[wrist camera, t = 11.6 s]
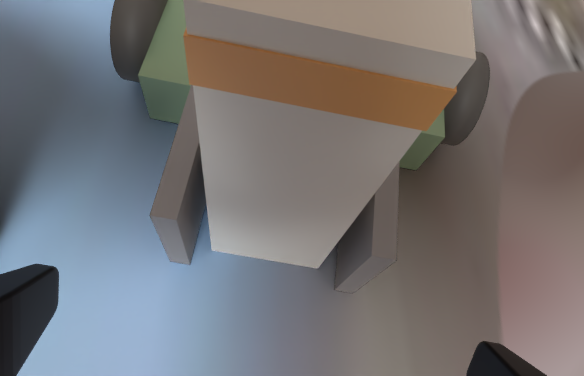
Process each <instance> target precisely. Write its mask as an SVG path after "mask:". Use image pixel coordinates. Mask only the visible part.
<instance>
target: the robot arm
mask: <svg viewBox="0 0 584 376" xmlns="http://www.w3.org/2000/svg"><path fill="white" fill-rule="evenodd" d="M58 291H59V272H58V269H57V268H56V267H54V266H48V265H42V264H33V265H30V266H26V267H23V268H20V269H16V270H13V271H10V272H7V273H3V274H0V376H16V375H17V374H18V372H19V371H20V369H21V367H22V366H23V364H24V363H25V361H26V359H27V358H28V356H29V354H30V353H31V351H32V350H33V348H34V346H35V345H36V343H37V341H38V340H39V338H40V336H41V335H42V333H43V332H44V330H45V328H46V327H47V325H48V323H49V322H50V320H51V318H52V317H53V315H54V313H55V311H56V309H57V305H58ZM466 376H547V375H545V374H544V373H542V372H541V371H539V370H538V369H536V368H535V367H534V366H532V365H531V364H529V363H528V362H526V361H525V360H523V359H522V358H521V357H519V356H518V355H516V354H515V353H513V352H512V351H510V350H509V349H507V348H506V347H505V346H503V345H501V344H499V343H493V342H487V341H482V342H480V343H479V344H478V346H477V348H476V350H475V353H474V355H473V358H472V360H471V362H470V365H469V367H468V370H467V375H466Z"/></svg>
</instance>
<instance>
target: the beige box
mask: <svg viewBox="0 0 584 376" xmlns="http://www.w3.org/2000/svg"><path fill="white" fill-rule="evenodd" d="M183 2H184V11H185V20H186V29H185V32H184V35H183V38H184V46H185V54H186V62H187V70H188V78H189V84H190V85H193V90H194V99H195V108H196V117H197V125H198V134H199V143H200V152H201V161H202V169H203V178H204V187H205V196H206V204H207V213H208V222H209V231H210V240H211V248H212V251H217V252H223V253H229V254H235V255H241V256H246V257H252V258H258V259H264V260H270V261H275V262H281V263H287V264H293V265H299V266H304V267H310V268H316V269H318V268H319V266H320V265H321V264H322V263H323V261H324V260H325V259H326V257H327V256H328V255H329V253H330V252H331V251H332V249H333V248H334V247H335V245H336V244H337V243H338V241H339V240H340V239H341V237H342V236H343V235H344V233H345V232H346V231H347V229H348V228H349V227H350V226H351V224H352V223H353V222H354V220H355V219H356V218H357V216H358V215H359V214H360V212H361V211H362V210H363V208H364V207H365V206H366V204H367V203H368V202H369V200H370V199H371V198H372V196H373V195H374V194H375V193H376V191H377V190H378V189H379V187H380V186H381V185H382V183H383V182H384V181H385V179H386V178H387V177H388V175H389V174H390V173H391V171H392V170H393V169H394V167H395V166H396V165H397V163H398V162H399V161H400V160H401V158H402V157H403V156H404V154H405V153H406V152H407V150H408V149H409V148H410V146H411V145H412V144H413V142H414V141H415V140H416V138H417V137H418V136H419V134H420V133H421V132H422V131H427V130H428V129H429V127H430V126H431V125H432V123H433V122H434V121H435V119H436V118H437V117H438V116H439V114H440V113H441V112H442V110H443V109H444V108H445V107H446V105H447V104H448V103H449V101H450V100H451V99H452V98H453V96H454V95H455V94H456V92H457V84H458V83H459V82H460V80H461V79H462V78H463V76H464V75H465V74H466V72H467V71H468V70H469V68H470V67H471V66H472V64H473V63H474V62H475V60H476V52H475V41H474V29H473V18H472V6H471V0H183Z"/></svg>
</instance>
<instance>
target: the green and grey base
mask: <svg viewBox="0 0 584 376" xmlns="http://www.w3.org/2000/svg"><path fill="white" fill-rule="evenodd" d="M185 29H186V20H185V11H184V2H183V0H115V2H114V6H113V11H112V17H111V26H110V46H111V55H112V60H113V64H114V67H115V69H116V72H117V73H118V75H119V76H120V77H121V78H122V79H125V80H130V81H135V82H140V84H141V88H142V91H143V95H144V98H145V102H146V105H147V109H148V112H149V116H150V118H152V119H157V120H162V121H167V122H172V123H177V124H179V125H178V128H177V131H176V134H175V137H174V141H173V144H172V147H171V150H170V153H169V156H168V159H167V162H166V166H165V169H164V172H163V175H162V178H161V181H160V184H159V187H158V191H157V194H156V197H155V200H154V203H153V206H152V209H151V212H150V218H151V220H152V222H153V224H154V226H155V229H156V231H157V233H158V235H159V238H160V240H161V242H162V244H163V246H164V249H165V251H166V253H167V255H168V257H169V260H170V261H171V262H177V263H182V264H188V265H190V263H191V259H192V255H193V251H194V247H195V243H196V239H197V236H198V232H199V228H200V224H201V220H202V216H203V212H204V208H205V205H206V196H205V187H204V178H203V169H202V161H201V152H200V143H199V134H198V125H197V117H196V108H195V99H194V90H193V85H190V84H189V78H188V70H187V62H186V54H185V46H184V38H183V35H184V32H185ZM475 52H476V51H475ZM489 80H490V68H489V62H488V59H487V57H486V56H485V55H484V54H483V53H480V52H476V60H475V62H474V63H473V64H472V66H471V67H470V68H469V70H468V71H467V72H466V74H465V75H464V76H463V78H462V79H461V80H460V82H459V83H458V84H457V92H456V94H455V95H454V96H453V98H452V99H451V100H450V101H449V103H448V104H447V105H446V107H445V108H444V109H443V110H442V112H441V113H440V114H439V116H438V117H437V118H436V119H435V121H434V122H433V123H432V125H431V126H430V127H429V129H428V130H427V131H422V132H421V133H420V134H419V136H418V137H417V138H416V140H415V141H414V142H413V144H412V145H411V146H410V148H409V149H408V150H407V152H406V153H405V154H404V156H403V157H402V158H401V160H400V161H399V162H398V163H397V165H396V166H395V167H394V169H393V170H392V171H391V173H390V174H389V175H388V177H387V178H386V179H385V181H384V182H383V183H382V185H381V186H380V187H379V189H378V190H377V191H376V193H375V194H374V195H373V196H372V198H371V199H370V200H369V202H368V203H367V204H366V206H365V207H364V208H363V210H362V211H361V212H360V214H359V215H358V216H357V218H356V219H355V220H354V222H353V223H352V224H351V226H350V227H349V228H348V229H347V231H346V232H345V233H344V235H343V236H342V237H341V239H340V240H339V245H338V256H337V266H336V277H335V288H334V290H337V291H342V292H348V293H354V292H356V291H357V290H358V289H359V288H361V287H362V286H363V285H365V284H366V283H367V282H369V281H370V280H371V279H373V278H374V277H375V276H377V275H378V274H379V273H381V272H382V271H383V270H385V269H386V268H387V267H389V266H390V265H391V264H393V263H394V262H395V261H397V238H398V200H399V167H402V168H407V169H412V170H417V169H418V168H419V167H420V166H421V164H422V163H423V162H424V161H425V160H426V159H427V157H428V156H429V155H430V154H431V153H432V152H433V151H434V149H435V148H436V147H437V146H438V145H439V144H440V143H443V144H448V145H457V144H459V143H461V142H462V141H463V140H464V139H465V138H466V137H467V136H468V135H469V134H470V132H471V131H472V130H473V128H474V126H475V125H476V123H477V121H478V119H479V117H480V114H481V112H482V109H483V107H484V104H485V101H486V97H487V93H488V88H489Z"/></svg>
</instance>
